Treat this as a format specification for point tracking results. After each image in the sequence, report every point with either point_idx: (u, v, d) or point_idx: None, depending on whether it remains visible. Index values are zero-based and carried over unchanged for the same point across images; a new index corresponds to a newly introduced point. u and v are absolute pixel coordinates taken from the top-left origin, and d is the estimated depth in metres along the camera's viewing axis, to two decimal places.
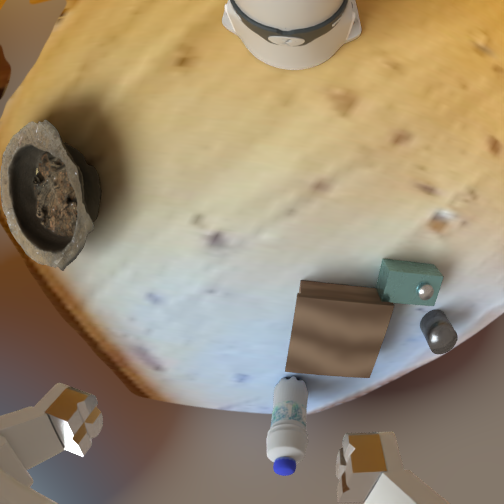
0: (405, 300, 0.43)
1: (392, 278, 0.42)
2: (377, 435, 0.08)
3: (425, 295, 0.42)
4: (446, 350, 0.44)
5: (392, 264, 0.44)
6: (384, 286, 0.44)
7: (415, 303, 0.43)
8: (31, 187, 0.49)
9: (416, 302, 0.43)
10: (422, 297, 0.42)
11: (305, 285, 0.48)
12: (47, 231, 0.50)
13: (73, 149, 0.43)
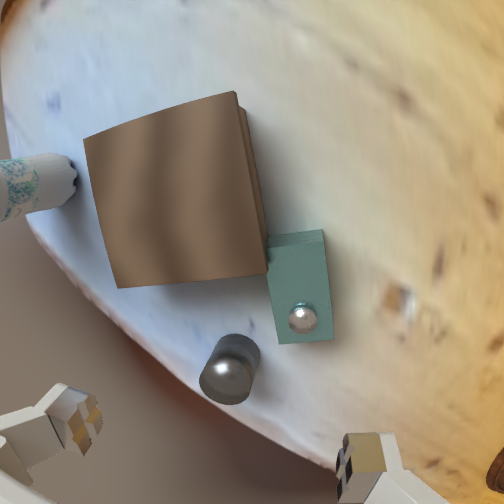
0: (275, 291, 0.27)
1: (311, 251, 0.26)
2: (377, 435, 0.08)
3: (297, 322, 0.27)
4: (210, 395, 0.30)
5: None
6: (288, 244, 0.26)
7: (275, 311, 0.28)
8: None
9: (276, 312, 0.28)
10: (292, 318, 0.27)
11: (242, 115, 0.26)
12: None
13: None
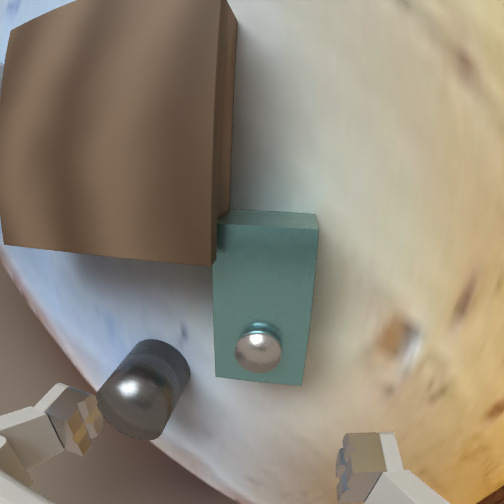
0: (222, 296, 0.16)
1: (295, 243, 0.15)
2: (377, 435, 0.08)
3: (249, 353, 0.16)
4: (110, 420, 0.19)
5: None
6: (258, 223, 0.16)
7: (217, 328, 0.17)
8: None
9: (219, 330, 0.17)
10: (242, 346, 0.16)
11: (231, 21, 0.15)
12: None
13: None
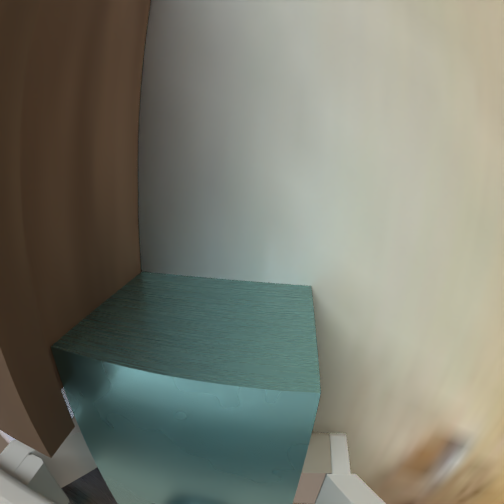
0: (111, 468, 0.06)
1: (252, 418, 0.05)
2: (327, 435, 0.08)
3: None
4: None
5: None
6: (158, 354, 0.05)
7: (119, 498, 0.07)
8: None
9: (123, 501, 0.07)
10: None
11: None
12: None
13: None
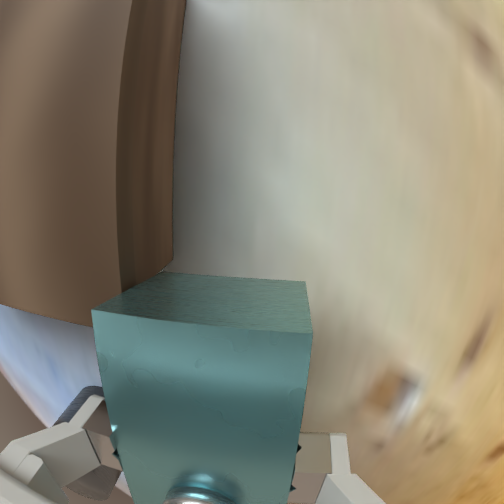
0: (127, 436, 0.07)
1: (258, 361, 0.06)
2: (327, 436, 0.08)
3: None
4: None
5: None
6: (183, 313, 0.07)
7: (129, 475, 0.08)
8: None
9: (133, 479, 0.08)
10: None
11: None
12: None
13: None
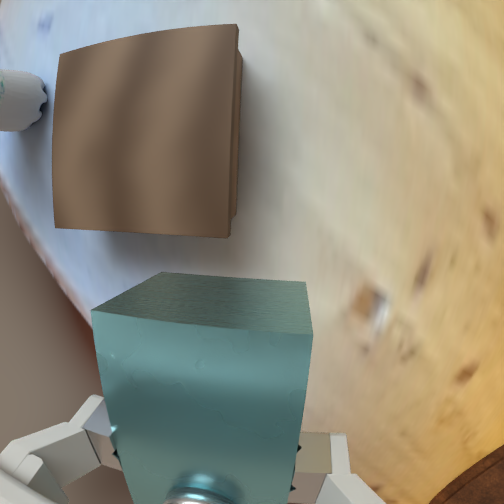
0: (127, 437, 0.07)
1: (259, 362, 0.06)
2: (327, 435, 0.08)
3: None
4: None
5: None
6: (183, 314, 0.07)
7: (129, 476, 0.08)
8: None
9: (133, 480, 0.08)
10: None
11: (238, 60, 0.21)
12: None
13: None
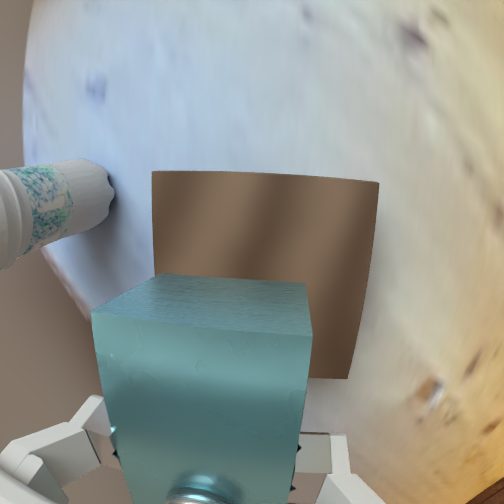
0: (127, 438, 0.07)
1: (258, 363, 0.06)
2: (327, 435, 0.08)
3: None
4: None
5: None
6: (183, 315, 0.07)
7: (129, 477, 0.08)
8: None
9: (133, 480, 0.08)
10: None
11: None
12: None
13: None
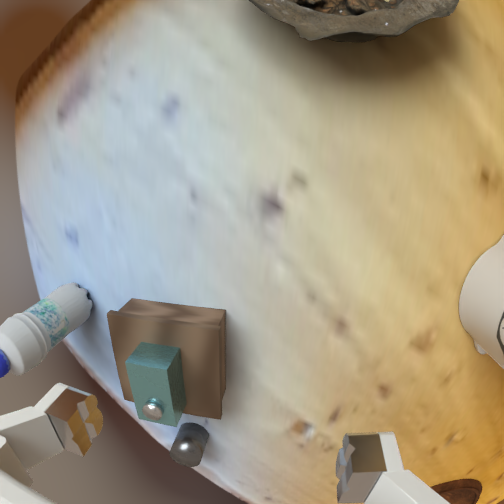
0: (134, 388, 0.33)
1: (158, 373, 0.32)
2: (377, 435, 0.08)
3: (148, 412, 0.33)
4: (175, 459, 0.43)
5: (175, 365, 0.34)
6: (144, 362, 0.32)
7: (135, 399, 0.33)
8: None
9: (136, 400, 0.33)
10: (144, 409, 0.33)
11: (222, 320, 0.39)
12: None
13: None
